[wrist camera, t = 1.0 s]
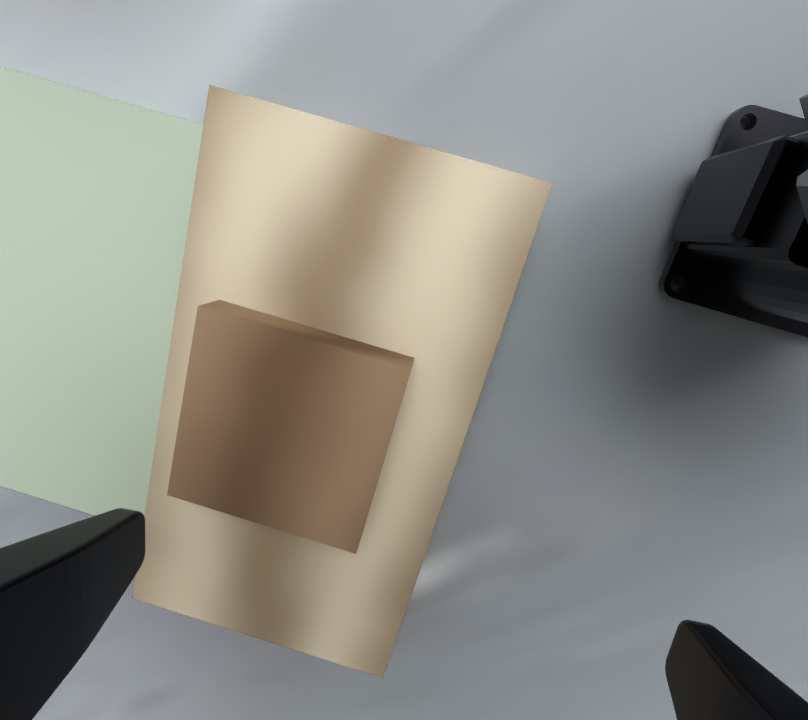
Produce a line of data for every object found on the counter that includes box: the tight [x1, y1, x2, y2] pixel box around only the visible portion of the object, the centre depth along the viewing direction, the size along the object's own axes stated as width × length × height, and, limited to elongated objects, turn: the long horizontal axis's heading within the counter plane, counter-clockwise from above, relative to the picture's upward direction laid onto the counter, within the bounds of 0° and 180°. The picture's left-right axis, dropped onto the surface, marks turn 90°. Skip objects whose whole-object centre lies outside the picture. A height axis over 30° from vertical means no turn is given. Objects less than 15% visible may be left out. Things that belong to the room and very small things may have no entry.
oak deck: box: [132, 85, 552, 678], centre depth 19 cm, size 11×20×3 cm, turn 164°
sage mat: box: [0, 66, 203, 516], centre depth 21 cm, size 10×18×1 cm, turn 164°
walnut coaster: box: [167, 300, 414, 554], centre depth 17 cm, size 7×7×2 cm
